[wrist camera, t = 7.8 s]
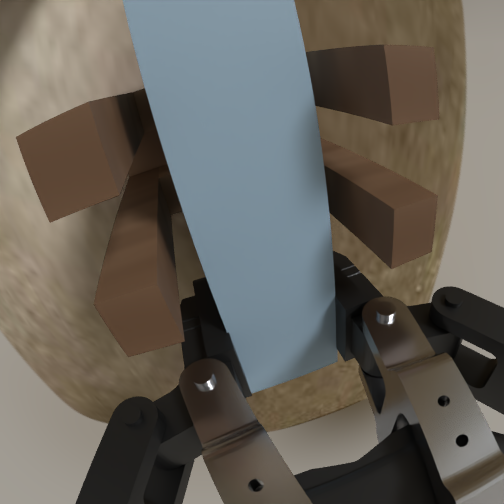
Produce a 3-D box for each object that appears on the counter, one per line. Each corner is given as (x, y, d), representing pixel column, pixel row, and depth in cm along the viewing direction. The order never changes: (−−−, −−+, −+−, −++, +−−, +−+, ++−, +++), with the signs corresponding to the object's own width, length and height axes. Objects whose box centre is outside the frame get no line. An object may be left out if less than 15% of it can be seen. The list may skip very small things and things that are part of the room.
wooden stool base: (108, 102, 10) (15, 137, 3) (281, 57, 11) (433, 47, 4) (141, 204, 12) (128, 357, 6) (299, 159, 13) (431, 252, 6)
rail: (140, 31, 7) (121, -8, 4) (234, 9, 8) (284, -37, 4) (224, 307, 13) (251, 393, 10) (291, 285, 14) (337, 361, 10)
